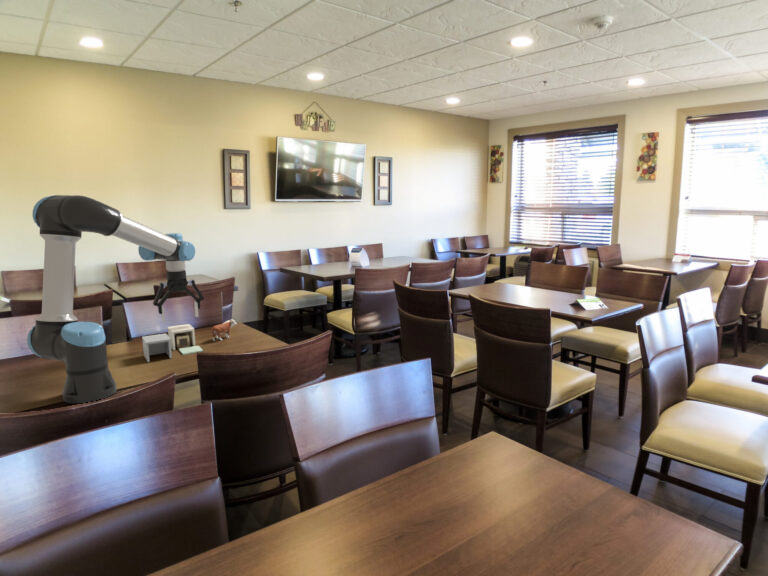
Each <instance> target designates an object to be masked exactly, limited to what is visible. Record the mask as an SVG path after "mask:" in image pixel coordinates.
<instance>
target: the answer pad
mask: <svg viewBox="0 0 768 576" xmlns="http://www.w3.org/2000/svg"><path fill="white" fill-rule="evenodd" d="M178 351H179V352H180V353H181V355H182V356H186V355H191V354H196V353H197V352H198V353H203V352H204V350H203V348H202V347H201V346H199V345H196V346H190V347H184V348H178Z"/></svg>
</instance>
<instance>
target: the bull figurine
mask: <svg viewBox="0 0 768 576" xmlns="http://www.w3.org/2000/svg"><path fill="white" fill-rule="evenodd" d="M237 325H238V323H237V322H236V321H235V319H232V318H231V319H229V320H226V321H225V322H223V323H220V324H216V325H214V326H212V328H211V333H212V335H211V337H212V341H213V342H215V341H216V339H217V340H219V341H221V342H223V338H221V336H222V335H223V334H225V337H226V338H227V339H230V338H231V337H230V336H229V335H230V332H231V329H232V328H233V327H234V326H237ZM215 338H216V339H215Z"/></svg>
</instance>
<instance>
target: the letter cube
mask: <svg viewBox="0 0 768 576" xmlns="http://www.w3.org/2000/svg"><path fill="white" fill-rule="evenodd" d="M186 347H191V344H190V341H189V335H188V334H187V333H183V334H176V335H175V348H177V349H180V348H186Z"/></svg>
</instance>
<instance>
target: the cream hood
mask: <svg viewBox="0 0 768 576" xmlns="http://www.w3.org/2000/svg"><path fill="white" fill-rule="evenodd" d="M167 333H168V334H167V335H168V337H169V338H170V339H171V350H172V351H176V346H175V335H176V334H183V333H187V334H188V335H189V341H190V346H191V347H193V346H197V345H196V334H195V327H193V326H192V325H191V324H190V323H186V324H179V325H172V326H167Z"/></svg>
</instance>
